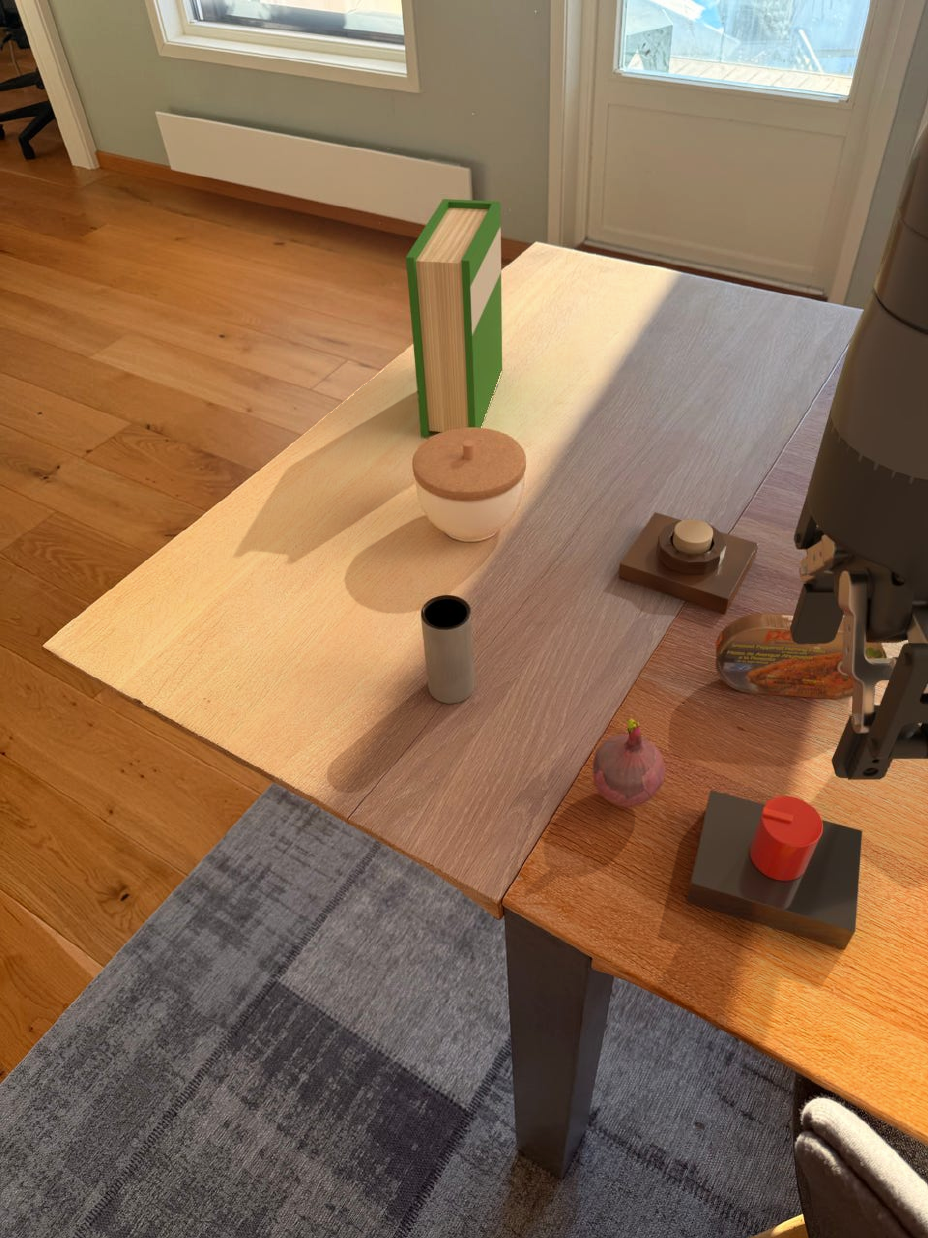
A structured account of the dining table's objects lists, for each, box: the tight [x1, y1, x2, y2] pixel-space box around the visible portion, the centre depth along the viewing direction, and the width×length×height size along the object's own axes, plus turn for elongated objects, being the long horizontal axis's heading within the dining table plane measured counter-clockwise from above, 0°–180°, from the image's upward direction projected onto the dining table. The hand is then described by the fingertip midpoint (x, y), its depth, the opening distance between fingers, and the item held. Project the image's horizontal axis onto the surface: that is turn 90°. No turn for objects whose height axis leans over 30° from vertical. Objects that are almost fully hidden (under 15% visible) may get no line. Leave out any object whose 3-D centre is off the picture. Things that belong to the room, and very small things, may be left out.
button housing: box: [617, 512, 759, 615], centre depth 98 cm, size 12×10×4 cm
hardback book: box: [405, 198, 503, 438], centre depth 117 cm, size 18×7×24 cm, turn 167°
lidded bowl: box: [411, 427, 527, 543], centre depth 103 cm, size 13×13×11 cm
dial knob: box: [750, 795, 823, 881], centre depth 69 cm, size 4×4×5 cm
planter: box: [420, 594, 475, 705], centre depth 85 cm, size 4×4×10 cm
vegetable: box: [592, 718, 666, 808], centre depth 75 cm, size 6×6×10 cm
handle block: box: [685, 789, 864, 951], centre depth 72 cm, size 12×9×3 cm
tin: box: [715, 612, 888, 700], centre depth 84 cm, size 15×3×8 cm, turn 82°
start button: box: [673, 518, 713, 555], centre depth 96 cm, size 4×4×2 cm
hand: (831, 700), depth 45 cm, fingers open, 8 cm apart
